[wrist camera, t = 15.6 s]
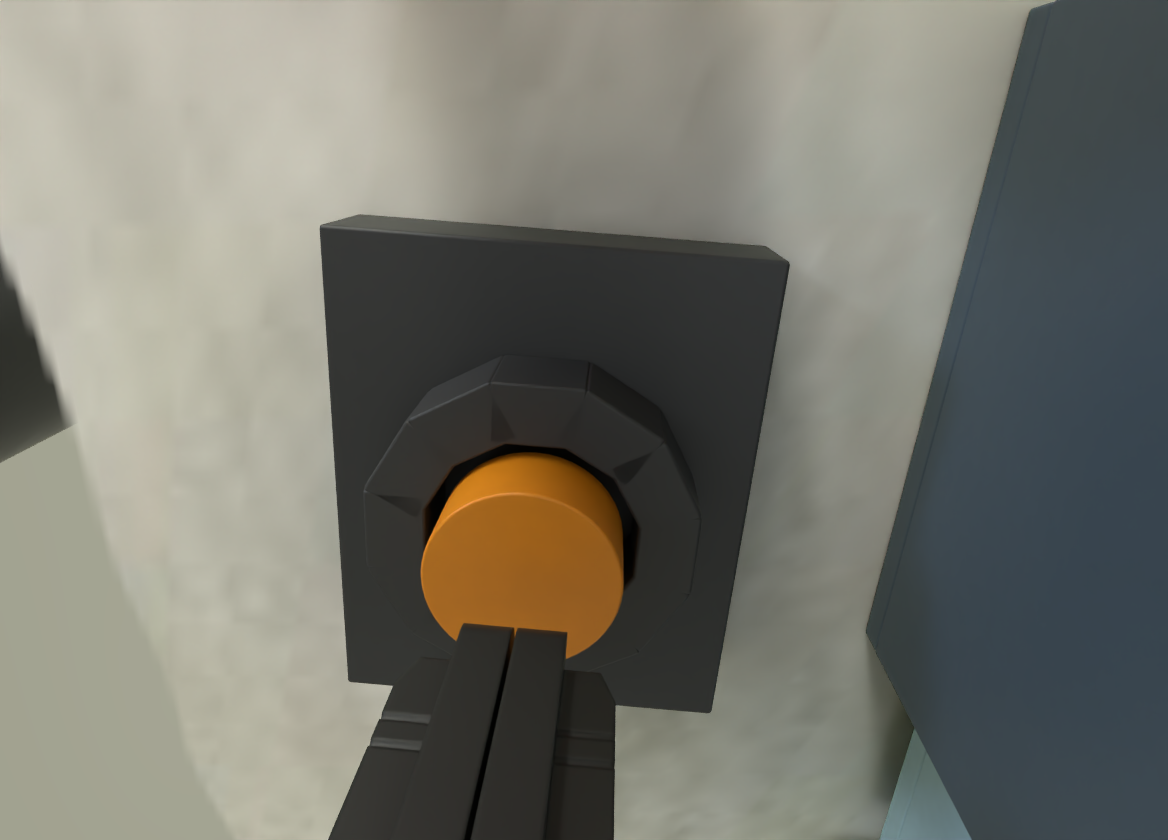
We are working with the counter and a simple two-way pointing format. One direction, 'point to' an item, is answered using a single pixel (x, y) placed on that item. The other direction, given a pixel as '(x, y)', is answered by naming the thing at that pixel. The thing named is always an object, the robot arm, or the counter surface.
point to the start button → (527, 551)
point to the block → (549, 420)
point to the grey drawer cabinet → (1050, 458)
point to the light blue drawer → (921, 802)
